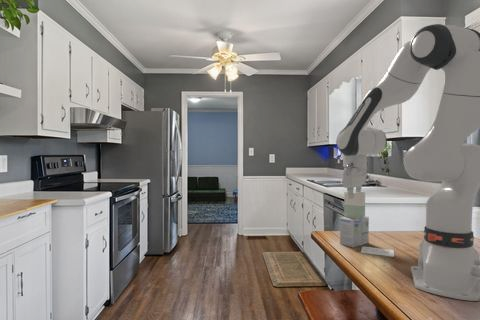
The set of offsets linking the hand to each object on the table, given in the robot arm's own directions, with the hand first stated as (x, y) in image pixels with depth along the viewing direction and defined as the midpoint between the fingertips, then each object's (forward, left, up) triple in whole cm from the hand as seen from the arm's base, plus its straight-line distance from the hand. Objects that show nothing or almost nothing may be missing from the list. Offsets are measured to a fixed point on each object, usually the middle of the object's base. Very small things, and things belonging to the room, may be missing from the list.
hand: (354, 197), depth 126 cm
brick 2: (0, 0, -8) cm, 8 cm away
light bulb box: (0, 0, -19) cm, 19 cm away
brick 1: (0, 0, -3) cm, 3 cm away
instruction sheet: (-6, -10, -19) cm, 22 cm away
